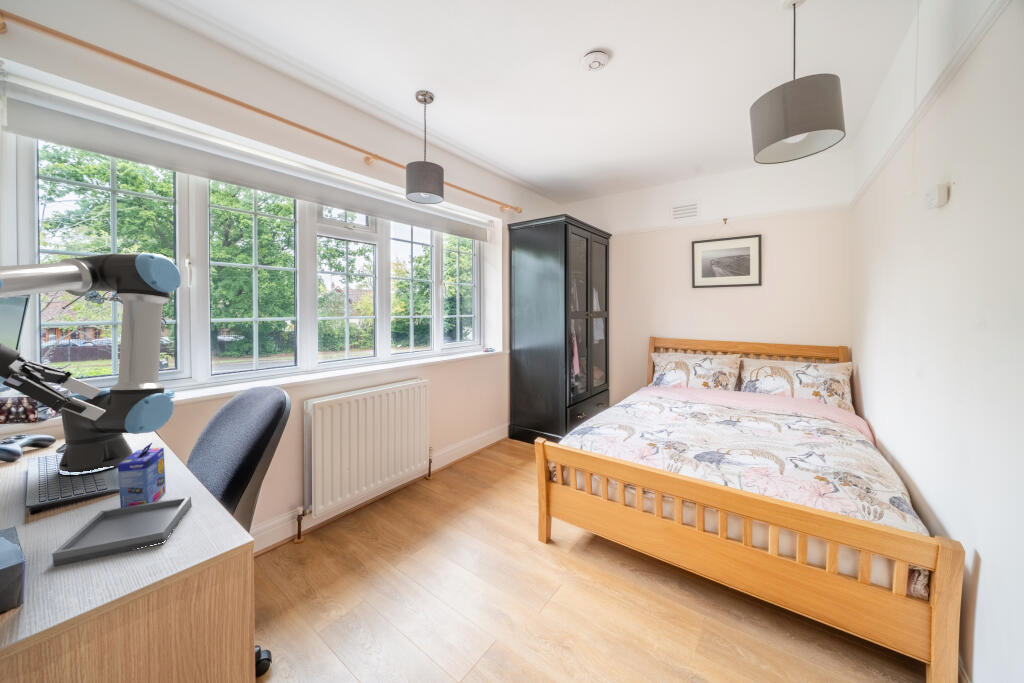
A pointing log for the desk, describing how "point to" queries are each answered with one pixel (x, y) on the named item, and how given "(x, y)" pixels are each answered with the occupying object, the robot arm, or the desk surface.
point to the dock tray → (123, 530)
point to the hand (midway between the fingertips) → (98, 404)
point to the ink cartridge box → (142, 477)
